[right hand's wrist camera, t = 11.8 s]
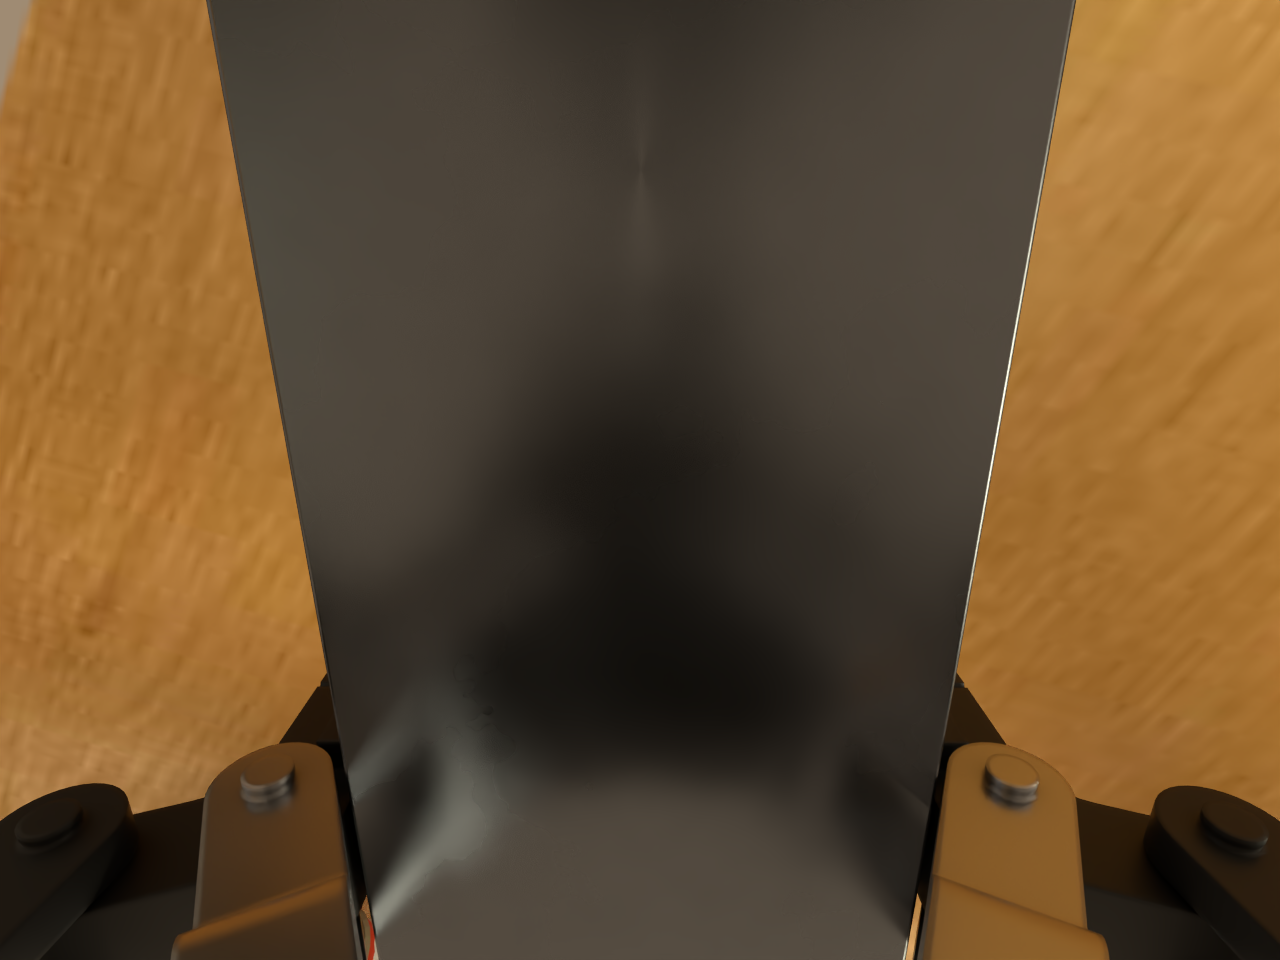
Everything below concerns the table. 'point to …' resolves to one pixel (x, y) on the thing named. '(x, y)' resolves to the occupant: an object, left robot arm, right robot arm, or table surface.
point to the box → (641, 440)
